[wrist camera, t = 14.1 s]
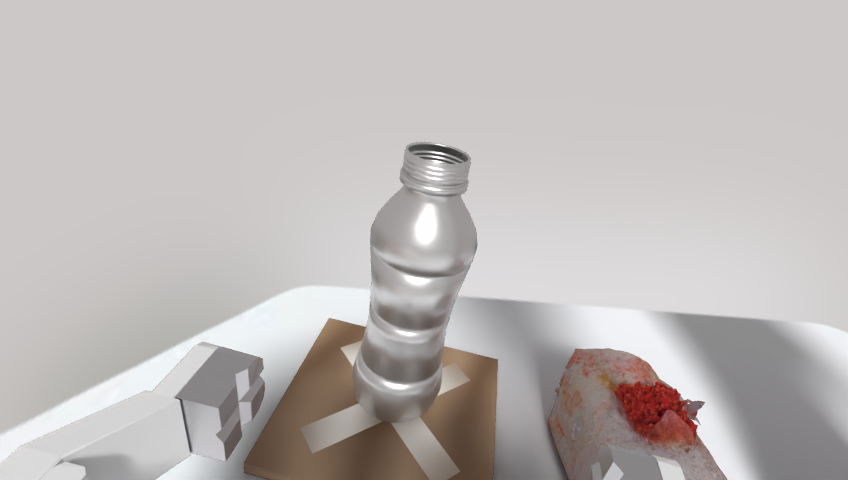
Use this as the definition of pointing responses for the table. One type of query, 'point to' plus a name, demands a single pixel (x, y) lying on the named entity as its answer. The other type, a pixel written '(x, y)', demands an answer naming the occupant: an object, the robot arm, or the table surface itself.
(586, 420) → the food item
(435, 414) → the brown board with cross
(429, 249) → the plastic bottle
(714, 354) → the table surface
